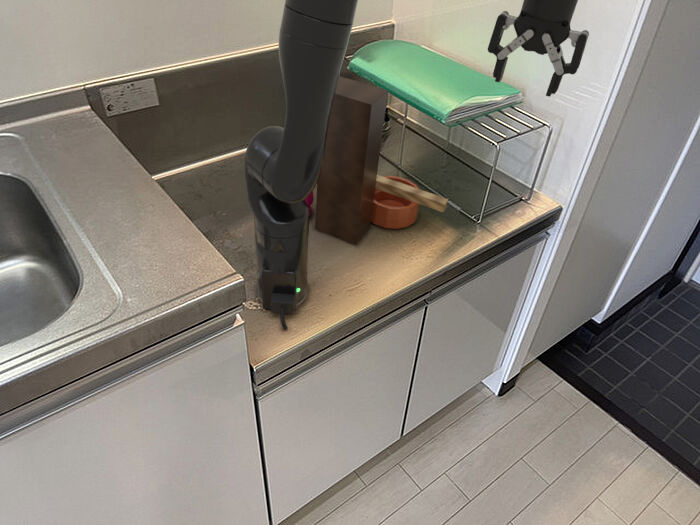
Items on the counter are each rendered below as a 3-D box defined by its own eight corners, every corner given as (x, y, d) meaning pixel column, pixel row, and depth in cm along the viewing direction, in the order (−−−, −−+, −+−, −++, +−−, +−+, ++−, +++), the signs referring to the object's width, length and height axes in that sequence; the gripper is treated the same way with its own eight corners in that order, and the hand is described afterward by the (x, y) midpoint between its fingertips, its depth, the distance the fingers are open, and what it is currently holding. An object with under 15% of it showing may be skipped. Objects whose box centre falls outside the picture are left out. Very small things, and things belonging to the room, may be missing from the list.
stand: (370, 227, 120) (388, 90, 98) (355, 245, 115) (371, 104, 94) (330, 212, 123) (339, 76, 101) (315, 229, 118) (321, 89, 97)
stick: (446, 207, 118) (448, 199, 116) (443, 212, 116) (445, 204, 115) (348, 172, 125) (349, 164, 123) (344, 177, 123) (344, 169, 122)
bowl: (418, 232, 120) (423, 211, 116) (361, 228, 120) (364, 206, 116) (415, 199, 129) (419, 178, 125) (363, 194, 129) (365, 173, 125)
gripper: (502, -24, 78) (475, 84, 89) (602, -2, 74) (561, 108, 85) (515, -34, 84) (488, 69, 94) (610, -14, 79) (570, 91, 90)
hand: (523, 87), depth 90 cm, fingers open, 8 cm apart
